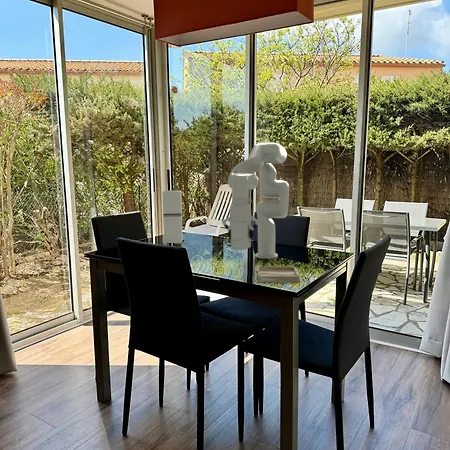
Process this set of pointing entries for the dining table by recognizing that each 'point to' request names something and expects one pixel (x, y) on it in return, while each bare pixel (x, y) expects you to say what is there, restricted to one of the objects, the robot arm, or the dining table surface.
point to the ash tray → (278, 274)
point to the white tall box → (172, 217)
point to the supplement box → (240, 235)
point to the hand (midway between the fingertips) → (240, 238)
